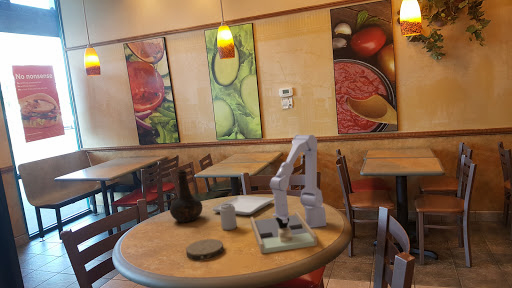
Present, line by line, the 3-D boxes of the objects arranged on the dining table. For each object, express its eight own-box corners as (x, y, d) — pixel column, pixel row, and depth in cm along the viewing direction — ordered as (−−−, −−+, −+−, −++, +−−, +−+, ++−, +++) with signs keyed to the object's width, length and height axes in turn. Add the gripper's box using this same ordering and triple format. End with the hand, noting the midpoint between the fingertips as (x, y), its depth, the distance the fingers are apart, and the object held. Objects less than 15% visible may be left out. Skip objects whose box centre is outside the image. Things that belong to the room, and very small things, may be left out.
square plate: (275, 203, 228) (275, 197, 227) (250, 218, 205) (249, 211, 204) (238, 200, 242) (237, 194, 242) (210, 214, 219) (210, 207, 219)
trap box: (297, 218, 197) (296, 210, 196) (317, 245, 161) (316, 236, 161) (251, 224, 194) (250, 217, 193) (261, 253, 159) (260, 244, 158)
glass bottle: (185, 213, 225) (178, 166, 221) (210, 215, 216) (204, 166, 213) (164, 224, 210) (157, 173, 206) (190, 226, 201) (183, 174, 197)
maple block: (289, 236, 169) (288, 227, 169) (292, 240, 164) (291, 231, 164) (278, 237, 169) (277, 228, 168) (280, 241, 164) (279, 232, 163)
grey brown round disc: (188, 247, 173) (187, 241, 173) (223, 243, 174) (223, 237, 174) (184, 263, 158) (184, 256, 157) (223, 258, 159) (222, 251, 158)
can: (234, 230, 188) (232, 207, 187) (220, 230, 190) (217, 207, 188) (238, 225, 196) (236, 202, 194) (224, 225, 197) (221, 202, 196)
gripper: (269, 200, 175) (272, 229, 177) (274, 209, 161) (277, 240, 163) (284, 198, 176) (287, 226, 178) (291, 207, 161) (294, 238, 163)
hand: (283, 233), depth 170 cm, fingers closed
